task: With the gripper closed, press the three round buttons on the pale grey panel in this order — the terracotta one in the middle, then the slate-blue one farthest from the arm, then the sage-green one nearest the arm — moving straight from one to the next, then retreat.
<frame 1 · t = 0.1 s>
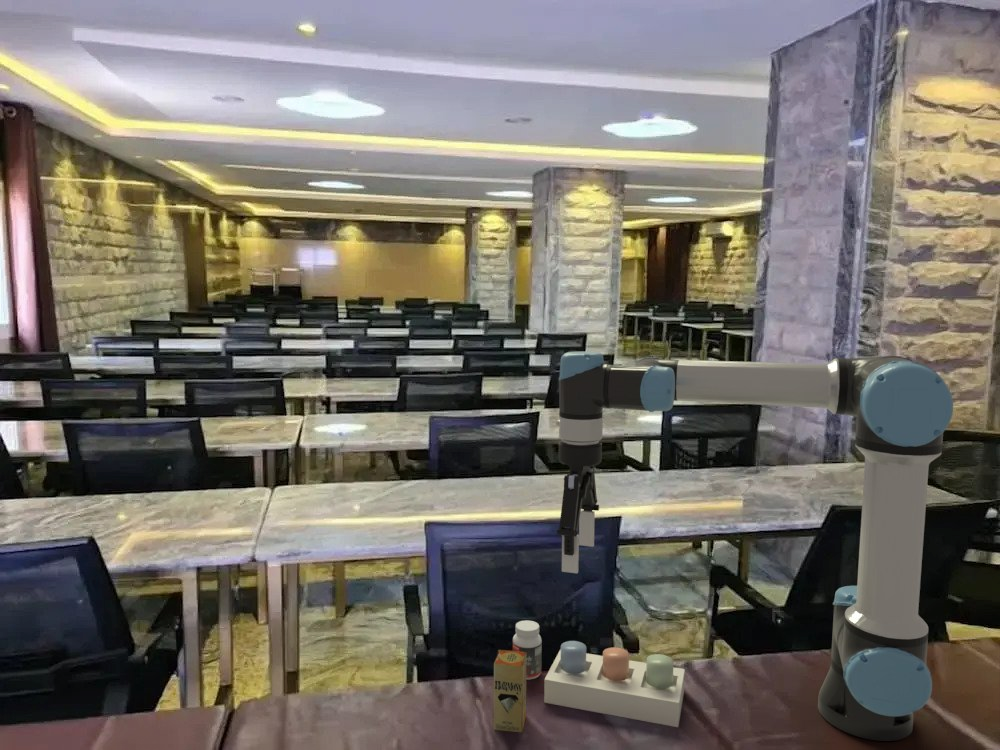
hand: (578, 558, 131), 28 cm above the table, fingers open, 13 cm apart
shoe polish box: (510, 723, 129), on the table
panel: (615, 697, 137), on the table
button terracotta: (615, 663, 136), point 6 cm above the table, slide at 0.0 cm
button sage: (659, 671, 133), point 6 cm above the table, slide at 0.0 cm
button slateblue: (573, 657, 138), point 6 cm above the table, slide at 0.0 cm
pill bottle: (526, 674, 145), on the table
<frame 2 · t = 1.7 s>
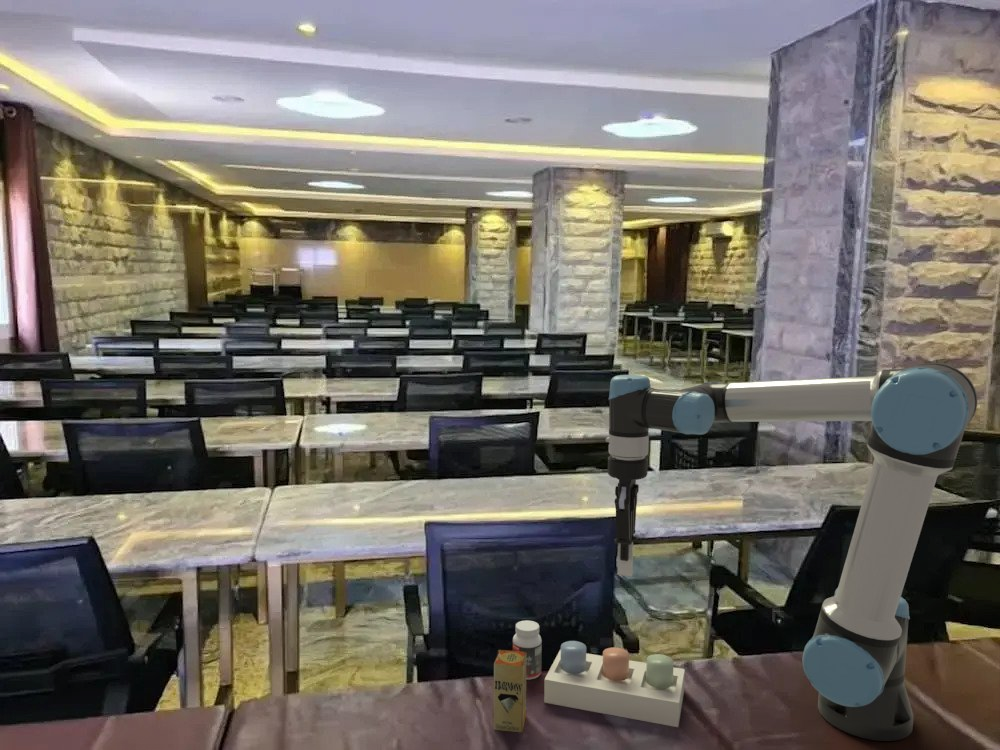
hand: (624, 574, 143), 20 cm above the table, fingers closed
nothing on the table moved.
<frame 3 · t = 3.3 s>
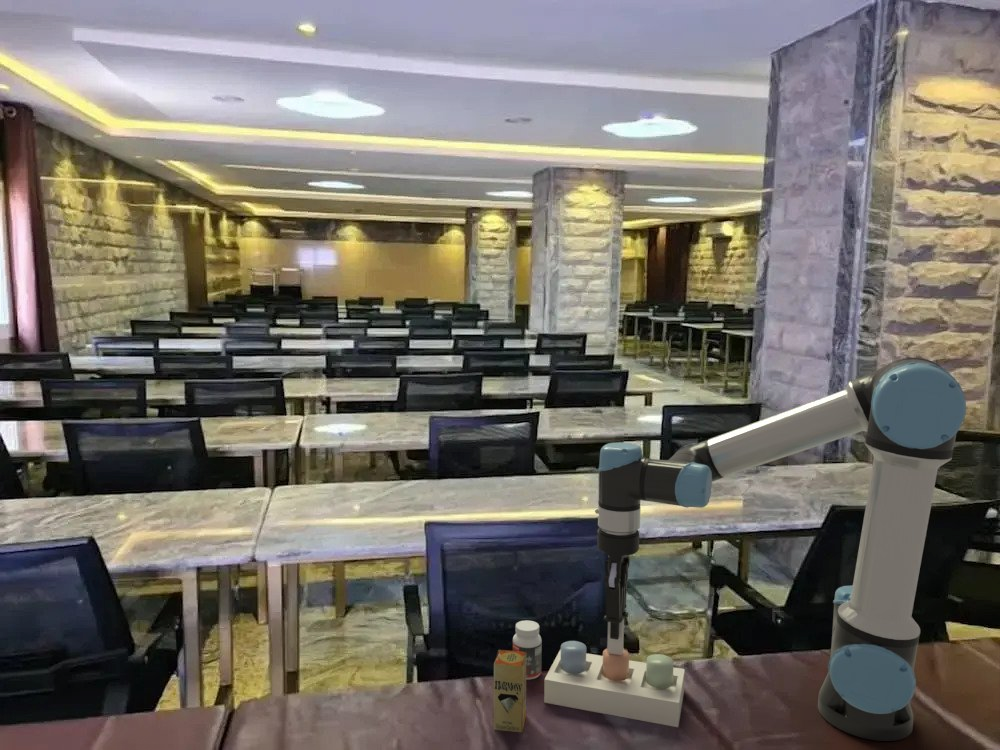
hand: (615, 652, 136), 9 cm above the table, fingers closed
button terracotta: (615, 663, 136), point 6 cm above the table, slide at 0.0 cm, touching gripper
everything else where it was.
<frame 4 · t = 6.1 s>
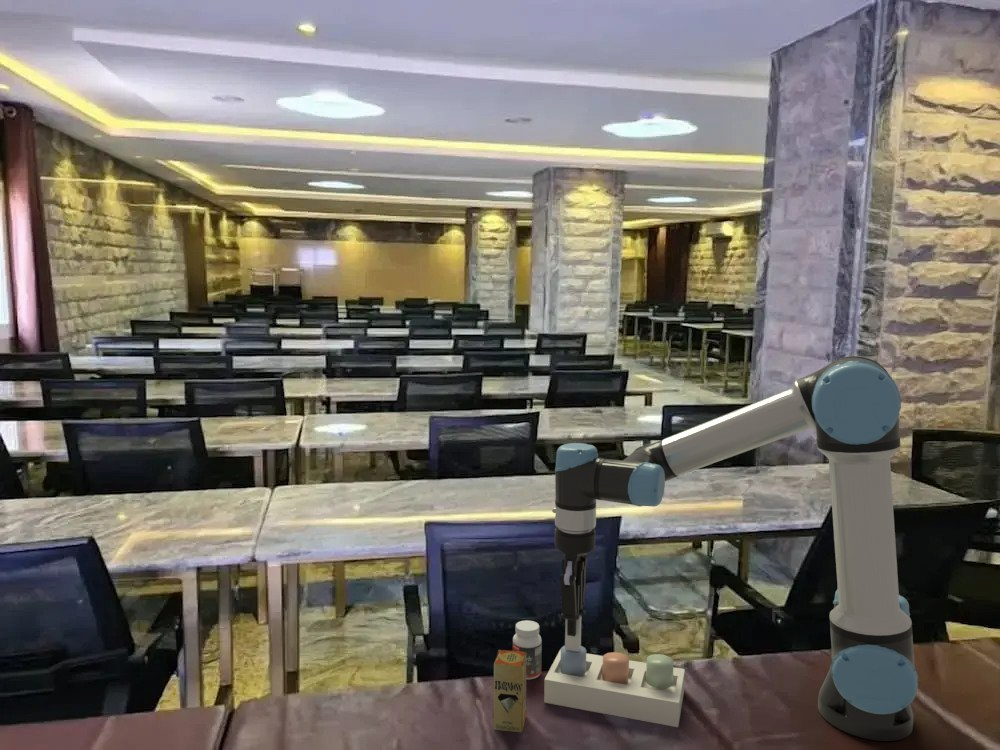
hand: (572, 648, 138), 8 cm above the table, fingers closed
button terracotta: (615, 668, 136), point 6 cm above the table, slide at 1.0 cm
button slateblue: (573, 660, 139), point 6 cm above the table, slide at 0.7 cm, touching gripper
everything else where it was.
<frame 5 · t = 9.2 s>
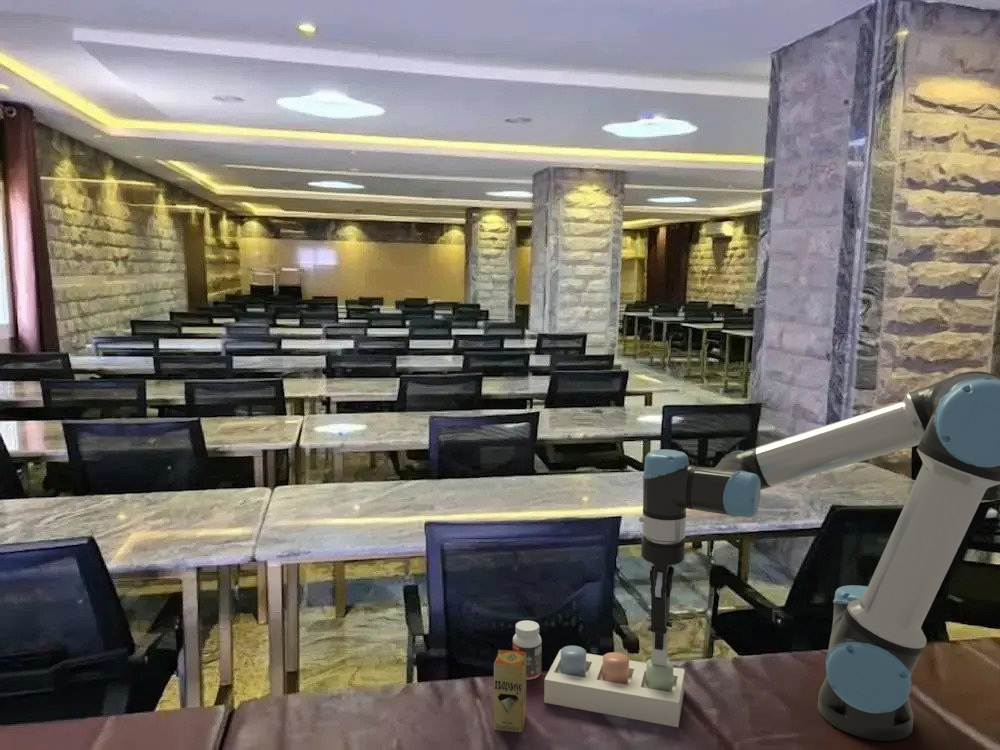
hand: (659, 662, 133), 8 cm above the table, fingers closed
button sage: (659, 674, 133), point 6 cm above the table, slide at 0.7 cm, touching gripper
button slateblue: (573, 661, 139), point 6 cm above the table, slide at 1.0 cm
everything else where it was.
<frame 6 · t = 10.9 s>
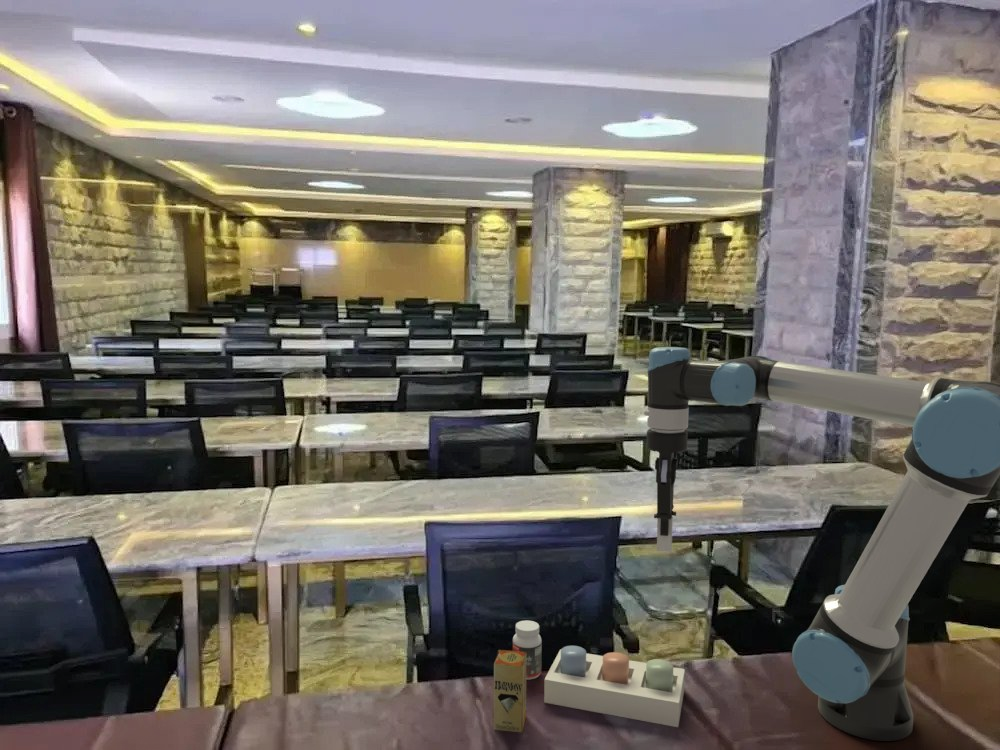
hand: (664, 549, 141), 26 cm above the table, fingers closed
button sage: (659, 676, 133), point 6 cm above the table, slide at 1.0 cm
everything else where it was.
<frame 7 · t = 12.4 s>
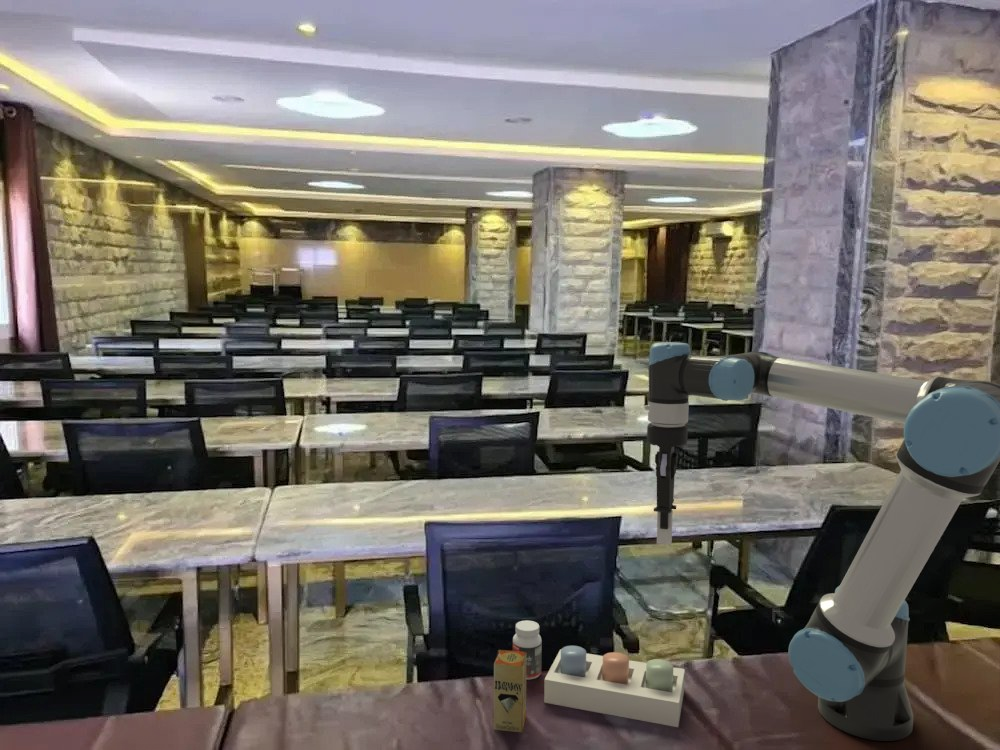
hand: (664, 543, 143), 26 cm above the table, fingers closed
nothing on the table moved.
at the end: button terracotta slide at 1.0 cm; button slateblue slide at 1.0 cm; button sage slide at 1.0 cm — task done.
